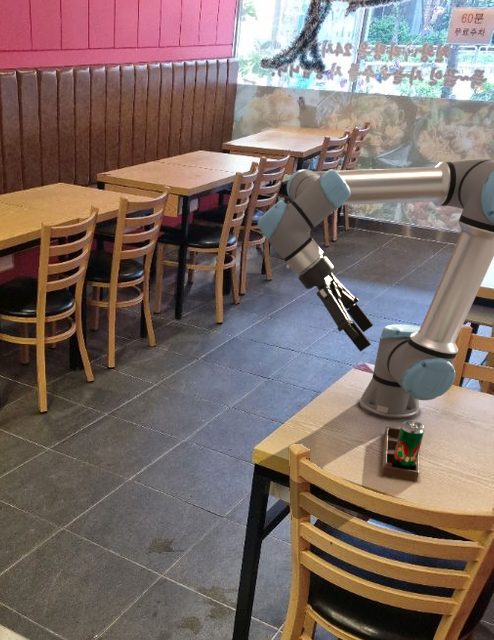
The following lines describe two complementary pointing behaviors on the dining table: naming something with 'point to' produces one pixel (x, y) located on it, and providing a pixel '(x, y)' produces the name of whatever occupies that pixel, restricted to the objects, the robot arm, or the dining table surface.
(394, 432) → the caddy
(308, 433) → the dining table surface
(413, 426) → the soda can
